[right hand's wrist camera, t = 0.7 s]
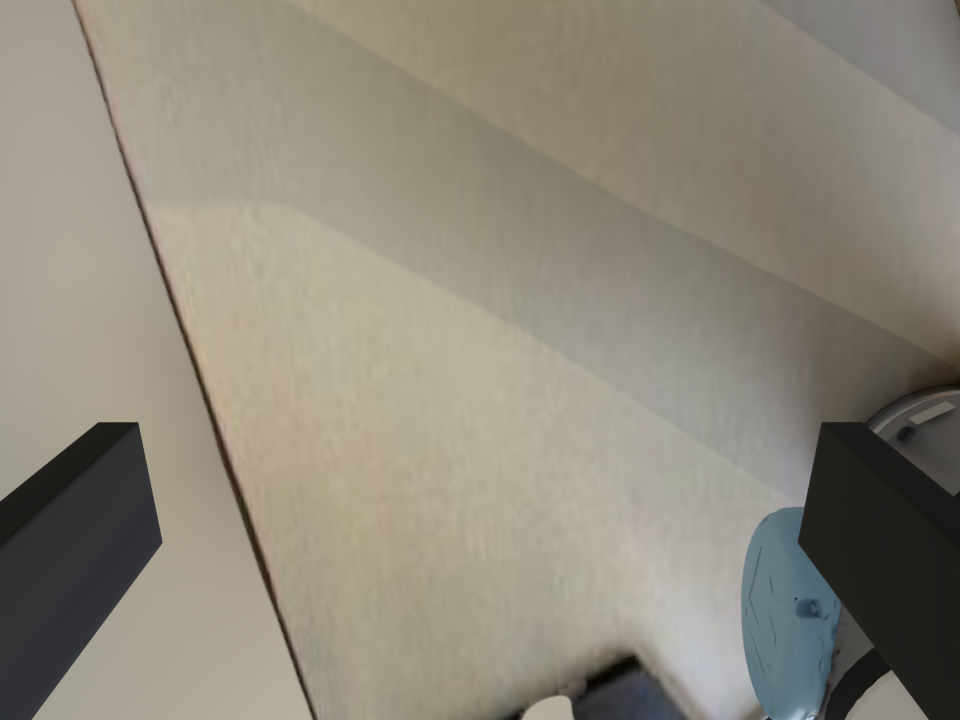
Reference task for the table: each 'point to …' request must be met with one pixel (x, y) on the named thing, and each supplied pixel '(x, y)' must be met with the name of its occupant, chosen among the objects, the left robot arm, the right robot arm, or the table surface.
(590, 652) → the table surface
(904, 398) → the left robot arm
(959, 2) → the cabinet
